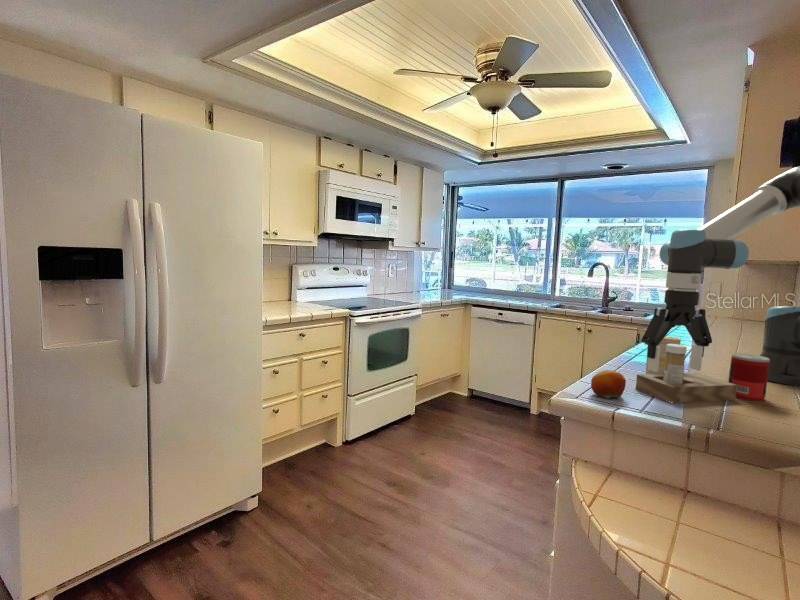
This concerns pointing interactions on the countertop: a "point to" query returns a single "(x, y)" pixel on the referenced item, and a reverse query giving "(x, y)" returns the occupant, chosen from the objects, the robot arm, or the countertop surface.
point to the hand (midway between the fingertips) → (674, 370)
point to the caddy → (687, 388)
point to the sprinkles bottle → (674, 363)
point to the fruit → (608, 384)
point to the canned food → (749, 375)
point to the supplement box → (662, 354)
